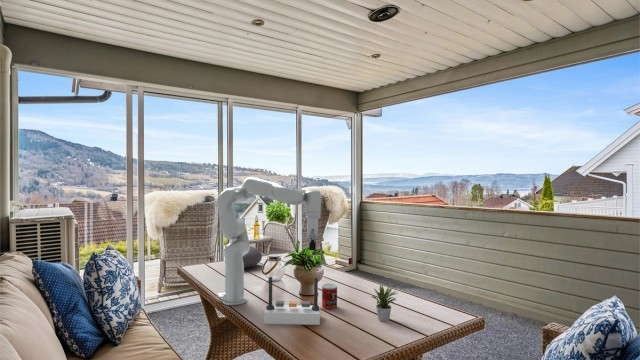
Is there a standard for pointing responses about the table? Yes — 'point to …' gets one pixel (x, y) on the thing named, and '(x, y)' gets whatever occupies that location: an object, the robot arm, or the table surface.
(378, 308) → the house plant
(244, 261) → the flattened ellipsoid
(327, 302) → the canned food
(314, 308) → the right cord
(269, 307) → the left cord
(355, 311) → the table surface
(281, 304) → the left button
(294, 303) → the middle button
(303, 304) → the right button
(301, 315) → the strip
